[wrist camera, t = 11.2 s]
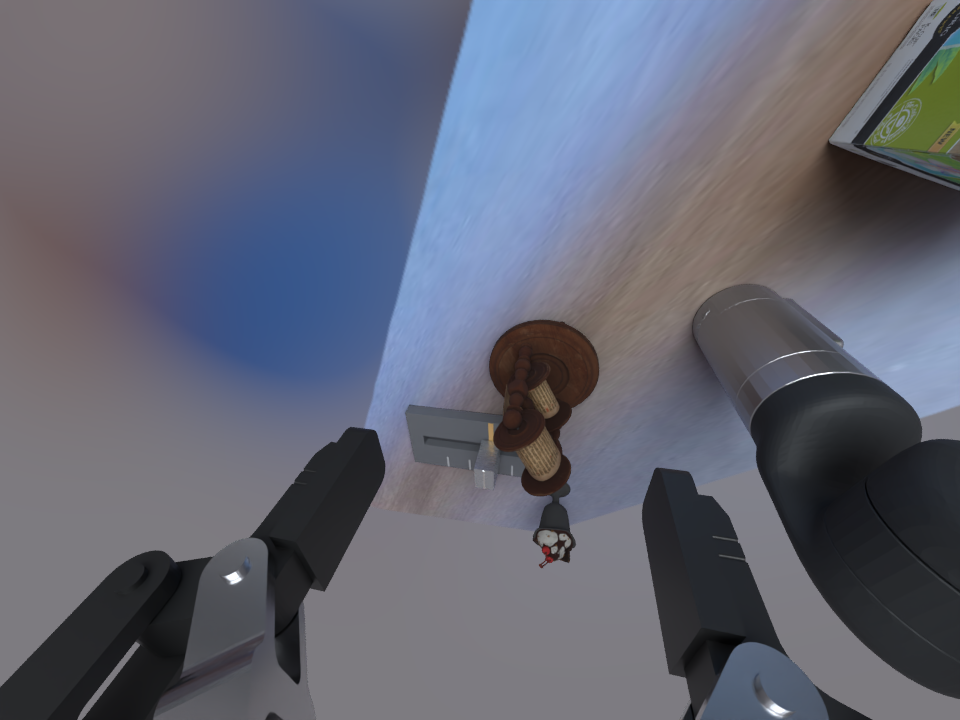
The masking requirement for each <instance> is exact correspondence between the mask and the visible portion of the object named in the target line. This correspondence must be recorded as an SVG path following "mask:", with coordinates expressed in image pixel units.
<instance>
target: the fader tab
mask: <svg viewBox="0 0 960 720" xmlns="http://www.w3.org/2000/svg"><path fill="white" fill-rule="evenodd" d="M499 464H500V450H499V449H498V448H496V446H495V445H494V442H493V441H486V440H482V442H481V445H480V449H479V452H478V456H477V460H476V463H475V467H474V477H475V488H482V489H488V490H494V488H495V483H496V478H497V474H498V469H499Z"/></svg>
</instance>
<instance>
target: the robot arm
mask: <svg viewBox="0 0 960 720" xmlns="http://www.w3.org/2000/svg"><path fill="white" fill-rule="evenodd" d="M693 334H694V337H695V340H696V341H697V343H698V345H699V347H700V348H701V350H702V352H703V353H704V355H705V357H706V359H707V361H708V362H709V364H710V366H711V368H712V369H713V371H714V373H715V375H716V376H717V378H718V380H719V381H720V383H721V385H722V387H723V388H724V390H725V392H726V394H727V395H728V397H729V399H730V401H731V402H732V404H733V406H734V407H735V409H736V411H737V413H738V414H739V416H740V418H741V419H742V421H743V423H744V425H745V426H746V428H747V430H748V432H749V433H750V435H751V437H752V439H753V440H754V442H755V444H756V446H757V451H756V461H757V467H758V470H759V472H760V475H761V477H762V480H763V482H764V484H765V486H766V488H767V490H768V492H769V495H770V497H771V499H772V501H773V503H774V505H775V508H776V510H777V512H778V514H779V517H780V519H781V521H782V523H783V525H784V528H785V530H786V532H787V534H788V537H789V539H790V541H791V543H792V545H793V547H794V549H795V551H796V553H797V555H798V557H799V559H800V561H801V562H802V564H803V566H804V568H805V570H806V571H807V573H808V575H809V577H810V578H811V580H812V581H813V583H814V585H815V586H816V588H817V589H818V591H819V592H820V593H821V595H822V596H823V598H824V599H825V601H826V602H827V603H828V604H829V606H830V607H831V608H832V610H833V611H834V612H835V613H836V615H837V616H838V617H839V618H840V619H841V620H842V622H844V624H845V625H846V626H847V627H848V628H849V629H850V630H851V631H852V633H854V635H855V636H856V637H857V638H858V639H859V640H860V641H861V642H862V643H863V644H865V645H866V646H867V647H868V648H869V649H870V650H872V651H873V652H874V653H875V654H876V655H877V656H878V657H880V658H881V659H882V660H883V661H885V662H886V663H887V664H889V665H890V666H891V667H892V668H894V669H895V670H897V671H898V672H900V673H901V674H903V675H904V676H906V677H907V678H909V679H911V680H913V681H914V682H916V683H918V684H920V685H922V686H924V687H926V688H928V689H930V690H933V691H935V692H938V693H940V694H943V695H946V696H950V697H954V698H957V699H960V441H958V440H949V439H936V440H929V441H924V442H921V438H922V426H921V422H920V419H919V417H918V415H917V413H916V412H915V410H914V409H913V408H912V406H911V405H910V404H909V403H908V402H907V401H906V400H905V399H904V398H902V397H901V396H900V395H899V394H898V393H896V392H895V391H894V390H893V389H891V388H890V387H889V386H888V385H887V384H885V383H884V382H883V381H882V380H881V379H879V378H878V377H877V376H876V375H874V374H873V373H872V372H871V371H870V370H868V369H867V368H866V367H865V366H864V365H862V364H861V363H860V362H858V361H857V360H856V359H855V358H854V357H852V356H851V355H850V354H849V353H848V352H846V351H845V350H844V349H843V346H844V342H843V340H842V339H841V338H840V337H838V336H837V335H836V334H835V333H833V332H832V331H831V330H830V329H828V328H827V327H826V326H825V325H823V324H822V323H821V322H820V321H818V320H817V319H816V318H815V317H813V316H812V315H811V314H809V313H808V312H807V311H806V310H804V309H803V308H802V307H801V306H799V305H798V304H797V303H796V302H794V301H793V300H792V299H785V298H781V297H780V296H779V295H778V294H777V293H775V292H774V291H773V290H771V289H769V288H767V287H764V286H760V285H751V284H746V285H738V286H734V287H730V288H727V289H725V290H723V291H721V292H718V293H717V294H715V295H714V296H712V297H711V298H709V299H708V300H707V301H706V302H705V303H704V304H703V305H702V306H701V308H700V309H699V310H698V312H697V314H696V316H695V318H694V321H693ZM384 474H385V461H384V457H383V454H382V450H381V446H380V443H379V439H378V435H377V433H376V431H375V430H371V429H363V428H355V427H350V428H348V429H347V430H346V431H345V432H344V433H343V435H342V436H341V438H340V439H339V440H338V442H337V443H334V442H330V443H329V444H328V445H326V446H325V447H324V448H323V449H321V450H320V451H318V452H317V453H316V454H315V455H314V456H313V457H312V459H311V460H310V461H309V463H308V464H307V465H306V467H305V468H304V471H303V472H301V473H300V474H299V476H298V477H297V478H296V479H295V482H294V484H292V485H291V486H290V487H289V488H288V490H287V491H286V492H285V494H284V495H283V496H282V498H281V499H280V500H279V501H278V503H277V504H276V505H275V507H274V508H273V509H272V510H271V512H270V513H269V514H268V516H267V517H266V518H265V520H264V521H263V522H262V523H261V525H260V526H259V527H258V529H257V530H256V531H255V532H254V533H253V534H252V536H251V537H249V538H245V539H241V540H238V541H235V542H233V543H231V544H229V545H228V546H226V547H225V548H223V549H222V550H220V551H219V552H218V553H217V554H216V555H215V556H213V557H208V558H201V559H194V560H188V561H181V562H174V561H173V559H172V558H171V557H170V556H169V555H168V554H166V553H165V552H163V551H149V552H145V553H142V554H140V555H137V556H135V557H133V558H131V559H129V560H128V561H126V562H124V563H123V564H122V565H120V566H119V567H118V568H116V569H115V570H114V571H113V572H112V573H111V574H109V575H108V576H107V577H106V578H105V580H103V582H102V583H101V584H100V585H99V586H98V587H97V588H96V589H95V590H94V591H93V592H92V593H91V594H90V595H89V596H88V597H87V598H86V599H85V600H84V601H83V602H82V603H81V604H80V605H79V607H77V609H76V610H75V611H74V612H73V613H72V614H71V615H70V616H69V617H68V618H67V619H66V620H65V621H64V622H63V623H62V624H61V625H60V626H59V627H58V628H57V629H56V630H55V631H54V632H53V633H52V634H51V635H50V636H49V637H48V639H47V640H46V641H45V642H44V643H43V644H42V645H41V646H40V647H39V648H38V649H37V650H36V651H35V652H34V653H33V654H32V655H31V656H30V657H29V658H28V659H27V661H25V662H24V663H23V664H22V666H20V668H19V669H18V670H17V671H16V672H15V673H14V674H13V675H12V676H11V677H10V678H9V679H8V680H7V681H6V682H5V683H4V684H3V685H2V686H1V687H0V720H77V719H78V716H79V715H80V712H81V711H82V709H83V708H84V706H85V705H86V704H87V702H88V701H89V700H90V699H91V697H92V696H93V695H94V693H95V692H96V691H97V690H98V688H99V687H100V686H101V685H102V683H103V682H104V681H105V680H106V678H107V677H108V676H109V674H110V673H111V672H112V671H113V669H114V668H115V667H116V666H117V664H118V663H119V661H121V659H122V658H123V657H124V655H125V654H126V653H127V652H128V650H129V649H130V648H131V646H132V645H133V644H134V643H135V642H137V643H139V644H140V646H139V647H138V649H137V650H136V651H135V652H134V654H133V655H132V656H131V658H130V659H129V660H128V662H127V663H126V664H125V665H124V667H123V668H122V669H121V671H120V672H119V673H118V674H117V676H116V677H115V678H114V680H113V681H112V682H111V684H110V685H109V686H108V687H107V689H106V690H105V691H104V692H103V694H102V695H101V696H100V698H99V699H98V700H97V702H96V703H95V704H94V705H93V707H92V708H91V709H90V711H89V712H88V713H87V714H86V716H85V717H84V718H83V719H82V720H316V716H315V711H314V706H313V702H312V699H311V696H310V693H309V688H308V680H307V679H308V678H307V658H306V639H305V638H306V636H305V615H304V603H303V600H304V598H305V596H306V594H307V592H308V591H309V589H310V588H311V589H316V590H320V591H325V590H326V588H327V586H328V584H329V582H330V580H331V579H332V577H333V575H334V572H335V571H336V569H337V567H338V565H339V563H340V561H341V559H342V557H343V556H344V554H345V552H346V550H347V548H348V546H349V544H350V542H351V540H352V539H353V536H354V535H355V533H356V531H357V529H358V527H359V525H360V523H361V521H362V520H363V518H364V516H365V514H366V512H367V510H368V508H369V506H370V504H371V502H372V501H373V499H374V497H375V495H376V493H377V491H378V489H379V487H380V485H381V483H382V481H383V478H384ZM642 522H643V529H644V535H645V540H646V546H647V552H648V558H649V562H650V569H651V574H652V580H653V586H654V591H655V597H656V602H657V608H658V614H659V619H660V624H661V630H662V636H663V641H664V647H665V652H666V658H667V664H668V669H669V674H672V675H677V676H681V677H685V678H686V679H687V684H688V689H689V694H690V700H689V702H688V704H687V706H686V708H685V710H684V712H683V714H682V716H681V718H680V720H872V719H870V718H868V717H866V716H864V715H863V714H861V713H859V712H857V711H855V710H853V709H851V708H850V707H847V706H846V705H844V704H842V703H840V702H838V701H837V700H835V699H833V698H832V697H830V696H829V695H827V694H826V693H824V692H823V691H822V690H820V689H819V688H818V687H816V686H815V685H814V684H813V683H812V681H811V680H810V679H809V678H808V677H807V675H806V674H805V673H804V672H803V671H802V670H801V669H800V668H799V667H798V666H797V665H796V664H795V663H794V662H793V661H792V660H790V658H789V657H788V655H787V654H786V652H785V651H784V649H783V647H782V646H781V644H780V642H779V639H778V637H777V635H776V633H775V630H774V627H773V625H772V622H771V620H770V617H769V615H768V613H767V610H766V608H765V605H764V602H763V600H762V597H761V595H760V593H759V590H758V588H757V585H756V583H755V580H754V578H753V575H752V573H751V570H750V568H749V565H748V563H746V562H745V555H744V553H743V550H742V548H741V545H740V544H739V543H738V538H737V535H736V533H735V530H734V528H733V525H732V523H731V520H730V518H729V516H728V515H727V514H726V513H725V511H724V510H723V509H722V508H721V507H720V505H719V504H718V503H717V502H716V500H715V499H714V498H713V497H712V496H705V495H698V493H697V490H696V487H695V484H694V481H693V478H692V476H691V474H690V473H689V472H687V471H680V470H673V469H665V468H656V469H655V470H654V473H653V476H652V479H651V482H650V485H649V487H648V490H647V493H646V496H645V499H644V503H643V509H642Z"/></svg>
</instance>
